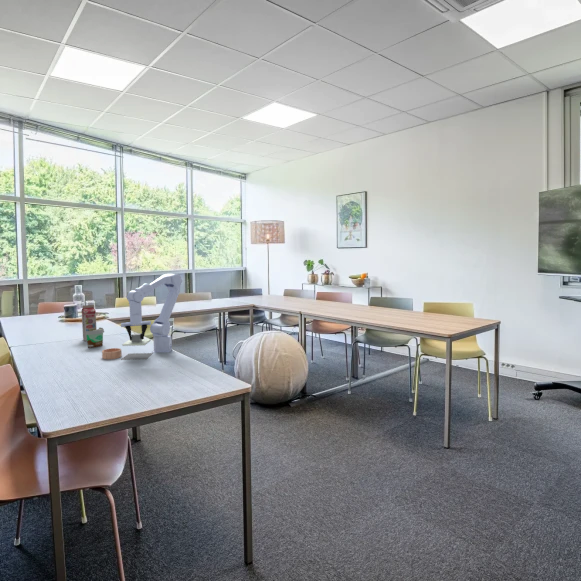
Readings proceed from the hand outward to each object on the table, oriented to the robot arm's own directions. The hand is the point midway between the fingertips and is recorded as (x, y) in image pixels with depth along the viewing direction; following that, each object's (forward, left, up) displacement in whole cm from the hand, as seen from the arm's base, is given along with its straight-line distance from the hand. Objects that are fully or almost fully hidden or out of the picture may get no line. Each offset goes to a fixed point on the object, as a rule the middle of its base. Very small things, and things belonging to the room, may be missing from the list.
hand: (136, 339), depth 215 cm
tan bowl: (+13, 0, -9) cm, 16 cm away
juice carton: (+43, -46, -10) cm, 64 cm away
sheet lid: (0, 0, -2) cm, 2 cm away
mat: (0, 0, -9) cm, 9 cm away
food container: (+31, -28, -10) cm, 43 cm away
